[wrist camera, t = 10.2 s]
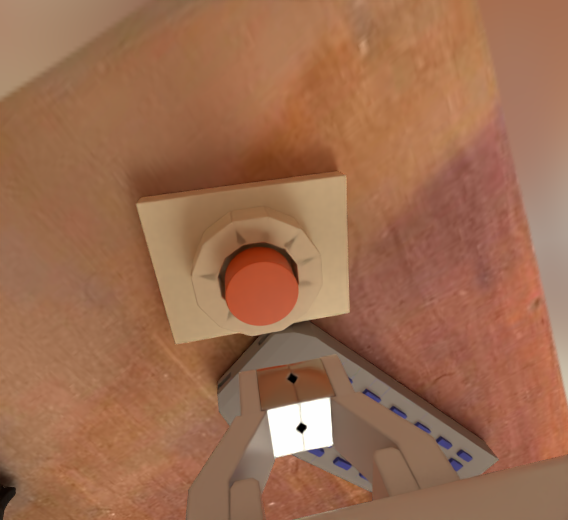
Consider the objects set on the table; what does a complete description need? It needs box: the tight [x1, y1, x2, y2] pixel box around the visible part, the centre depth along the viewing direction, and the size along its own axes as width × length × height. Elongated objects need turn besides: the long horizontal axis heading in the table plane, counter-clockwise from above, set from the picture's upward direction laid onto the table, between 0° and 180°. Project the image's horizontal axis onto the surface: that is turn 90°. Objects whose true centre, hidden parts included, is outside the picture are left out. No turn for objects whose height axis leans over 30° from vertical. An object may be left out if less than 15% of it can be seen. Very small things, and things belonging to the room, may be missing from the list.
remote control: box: [218, 320, 499, 492], centre depth 25 cm, size 8×23×2 cm, turn 48°
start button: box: [225, 247, 299, 326], centre depth 16 cm, size 3×3×2 cm
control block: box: [136, 171, 350, 344], centre depth 18 cm, size 10×8×3 cm
